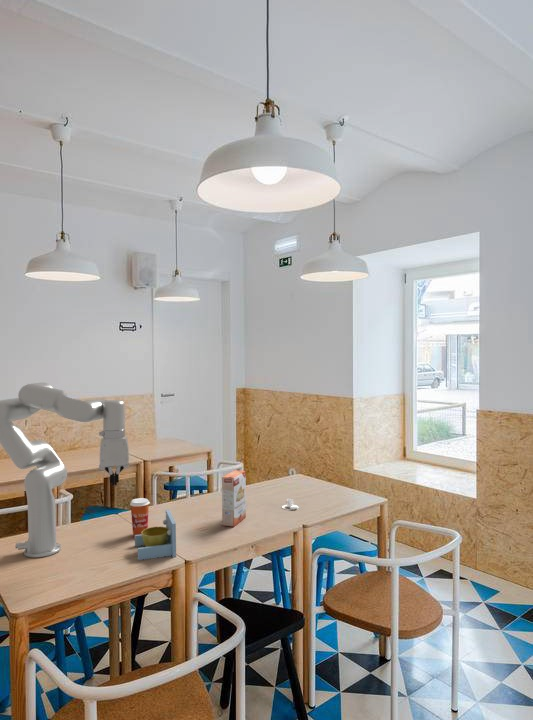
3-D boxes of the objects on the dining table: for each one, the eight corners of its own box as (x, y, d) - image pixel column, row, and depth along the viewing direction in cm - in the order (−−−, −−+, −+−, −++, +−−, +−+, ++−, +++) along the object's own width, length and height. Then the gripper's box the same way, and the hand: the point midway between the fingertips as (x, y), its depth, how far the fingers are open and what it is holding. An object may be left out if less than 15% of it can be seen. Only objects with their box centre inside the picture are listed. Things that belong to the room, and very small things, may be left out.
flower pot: (149, 557, 183) (148, 537, 183) (137, 549, 191) (137, 530, 191) (174, 550, 190) (173, 531, 190) (162, 543, 198) (161, 524, 198)
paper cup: (130, 539, 203) (129, 503, 202) (130, 532, 210) (129, 498, 210) (150, 536, 205) (150, 502, 204) (149, 530, 212) (149, 497, 212)
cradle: (138, 561, 180) (137, 527, 180) (134, 544, 197) (134, 513, 197) (176, 556, 184) (175, 523, 184) (169, 539, 201) (168, 509, 201)
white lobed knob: (299, 511, 236) (298, 502, 236) (281, 511, 237) (281, 502, 237) (298, 505, 245) (298, 497, 245) (281, 505, 245) (281, 497, 245)
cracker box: (235, 527, 214) (234, 477, 214) (221, 526, 216) (220, 476, 216) (247, 517, 228) (246, 470, 227) (234, 516, 229) (233, 469, 229)
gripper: (92, 437, 180) (92, 489, 180) (136, 434, 185) (136, 485, 185) (92, 433, 187) (92, 483, 187) (134, 431, 192) (134, 480, 192)
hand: (114, 484), depth 186 cm, fingers closed
